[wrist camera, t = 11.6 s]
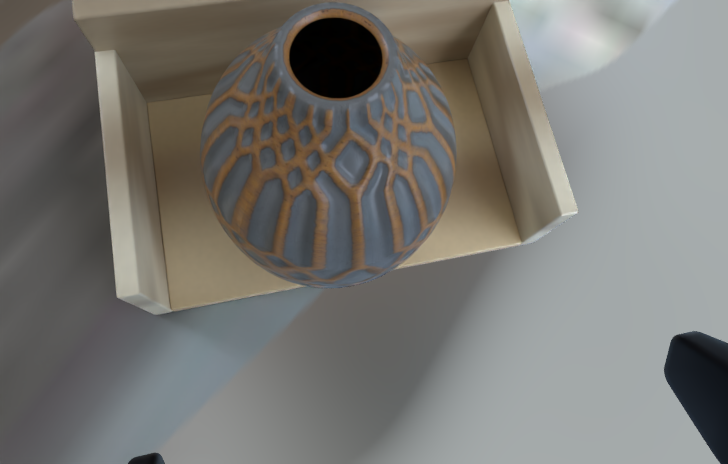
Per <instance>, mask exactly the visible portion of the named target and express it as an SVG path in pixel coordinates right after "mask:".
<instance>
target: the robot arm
mask: <svg viewBox="0 0 728 464" xmlns="http://www.w3.org/2000/svg"><path fill="white" fill-rule="evenodd" d="M664 373H665V377H666V380H667V382H668V384H669V385H670V387H671V389H672V390H673V392H674V393H675V395H676V396H677V398H678V399H679V401H680V402H681V404H682V406H683V407H684V409H685V410H686V412H687V414H688V415H689V417H690V418H691V420H692V421H693V423H694V425H695V426H696V428H697V429H698V431H699V432H700V434H701V435H702V437H703V438H704V440H705V441H706V443H707V445H708V446H709V448H710V449H711V451H712V452H713V454H714V455H715V457H716V458H717V459H718V461H719V462H720V463H721V464H728V343H726V342H723V341H721V340H718V339H716V338H713V337H711V336H709V335H706V334H703V333H701V332H697V331H693V332H688V333H684V334H679V335H676V336H674V337H673V339H672V340H671V343H670V347H669V351H668V355H667V359H666V363H665V367H664ZM128 464H165V463H164V460H163V458H162V456H161V455H160V454H159V453H151V454H147V455H142V456H138V457H135V458H133V459H132V460H130V461H129V463H128Z"/></svg>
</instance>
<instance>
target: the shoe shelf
mask: <svg viewBox="0 0 728 464" xmlns="http://www.w3.org/2000/svg"><path fill="white" fill-rule="evenodd" d="M327 2H339V3H346V4H351V5H355V6H357V7H360V8H362V9H364V10H366V11H368V12H370V13H372V14H373V15H375V16H376V17H377V18H378V19H380V20H381V21H382V22H383V23H384V24H385V26H386V27H387V28H388V29H389V31H390V32H391V34H392V35H393V36H394V37H396V38H397V39H399V40H400V41H402V42H403V43H405V44H406V45H407V46H408V47H410V48H411V49H412V50H413V51H414V52H415V53H416V54H417V55H418V56H419V57H420V58H421V59H422V60H423V61H424V63H425V64H426V65H427V66H428V67H429V69H430V70H431V71H432V73H433V74H434V76H435V77H436V79H437V81H438V82H439V84H440V86H441V88H442V90H443V92H444V94H445V97H446V99H447V102H448V104H449V107H450V111H451V114H452V118H453V123H454V128H455V135H456V150H457V156H456V171H455V178H454V183H453V187H452V191H451V194H450V198H449V201H448V204H447V206H446V208H445V211H444V213H443V215H442V217H441V219H440V220H439V222H438V224H437V225H436V227H435V229H434V230H433V232H432V233H431V234H430V236H429V237H428V238H427V240H426V241H425V242H424V243H423V244H422V245H421V246H420V248H419V249H418V250H417V251H416V252H415V253H414V254H413V255H412V256H411V257H409V258H408V259H407V260H406V261H404V262H403V263H402V264H400V265H399V266H398V267H396V268H395V269H400V268H405V267H410V266H416V265H421V264H426V263H431V262H437V261H442V260H447V259H452V258H457V257H463V256H468V255H473V254H478V253H484V252H489V251H494V250H500V249H505V248H510V247H515V246H518V245H525V244H530V243H534V242H535V241H537V240H538V239H540V238H541V237H543V236H544V235H546V234H547V233H549V232H550V231H552V230H553V229H555V228H556V227H557V226H559V225H560V224H562V223H564V222H565V221H567V220H568V219H570V218H571V217H573V216H574V215H576V214H577V213H578V208H577V205H576V202H575V199H574V196H573V193H572V190H571V187H570V184H569V181H568V178H567V175H566V172H565V169H564V166H563V163H562V160H561V157H560V153H559V150H558V148H557V144H556V141H555V138H554V135H553V132H552V129H551V126H550V123H549V120H548V117H547V114H546V111H545V108H544V105H543V102H542V99H541V96H540V93H539V90H538V86H537V83H536V80H535V77H534V74H533V71H532V68H531V65H530V62H529V59H528V56H527V53H526V50H525V47H524V44H523V41H522V38H521V35H520V32H519V29H518V26H517V23H516V20H515V17H514V14H513V10H512V7H511V4H510V1H509V0H72V10H73V19H74V20H75V22H76V23H77V25H78V27H79V28H80V30H81V31H82V33H83V34H84V36H85V37H86V39H87V40H88V42H89V43H90V45H91V46H92V48H93V49H94V51H95V61H96V73H97V84H98V95H99V106H100V117H101V128H102V139H103V150H104V161H105V172H106V183H107V194H108V206H109V217H110V228H111V239H112V250H113V261H114V272H115V283H116V294H117V298H119V299H121V300H123V301H125V302H128V303H130V304H132V305H134V306H136V307H139V308H141V309H143V310H145V311H148V312H150V313H152V314H154V315H159V314H164V313H169V312H172V311H180V310H185V309H190V308H196V307H201V306H206V305H211V304H217V303H222V302H227V301H232V300H238V299H243V298H248V297H253V296H259V295H264V294H269V293H274V292H279V291H285V290H290V289H295V288H300V287H306V286H303V285H299V284H295V283H292V282H289V281H286V280H283V279H281V278H279V277H277V276H274V275H273V274H271V273H269V272H267V271H266V270H264V269H263V268H261V267H260V266H258V265H257V264H255V263H254V262H253V261H252V260H250V259H249V258H248V257H247V256H246V255H245V254H244V253H243V252H241V251H240V249H239V248H238V247H237V246H236V245H235V244H234V243H233V242H232V240H231V239H230V238H229V236H228V235H227V234H226V232H225V231H224V229H223V228H222V226H221V225H220V223H219V221H218V220H217V218H216V216H215V214H214V212H213V209H212V207H211V205H210V203H209V200H208V197H207V194H206V191H205V187H204V183H203V178H202V171H201V162H200V144H201V133H202V127H203V122H204V117H205V113H206V110H207V107H208V104H209V101H210V99H211V96H212V93H213V91H214V89H215V87H216V85H217V83H218V82H219V80H220V78H221V77H222V75H223V73H224V72H225V70H226V69H227V68H228V66H229V65H230V64H231V63H232V61H233V60H234V59H235V58H236V57H237V56H238V55H239V54H240V53H241V52H242V51H243V50H244V49H245V48H247V47H248V46H249V45H250V44H251V43H253V42H254V41H255V40H257V39H258V38H260V37H261V36H263V35H265V34H266V33H268V32H270V31H272V30H274V29H276V28H279V27H281V26H283V24H284V23H285V22H286V21H287V20H288V19H289V18H290V17H292V16H293V15H294V14H295V13H297V12H299V11H300V10H302V9H304V8H307V7H309V6H312V5H315V4H320V3H327ZM393 270H394V269H393Z"/></svg>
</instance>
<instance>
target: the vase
mask: <svg viewBox="0 0 728 464" xmlns="http://www.w3.org/2000/svg"><path fill="white" fill-rule="evenodd" d="M456 156H457V150H456V135H455V128H454V123H453V118H452V114H451V111H450V107H449V104H448V102H447V99H446V97H445V94H444V92H443V90H442V88H441V86H440V84H439V82H438V81H437V79H436V77H435V76H434V74H433V73H432V71H431V70H430V69H429V67H428V66H427V65H426V64H425V63H424V61H423V60H422V59H421V58H420V57H419V56H418V55H417V54H416V53H415V52H414V51H413V50H412V49H411V48H410V47H408V46H407V45H406V44H405V43H403V42H402V41H400V40H399V39H397V38H396V37H394V36H393V35H392V34H391V32H390V31H389V29H388V28H387V27H386V26H385V24H384V23H383V22H382V21H381V20H380V19H378V18H377V17H376V16H375V15H373V14H372V13H370V12H368V11H366V10H364V9H362V8H360V7H357V6H355V5H351V4H346V3H339V2H327V3H320V4H315V5H312V6H309V7H307V8H304V9H302V10H300V11H299V12H297V13H295V14H294V15H293V16H292V17H290V18H289V19H288V20H287V21H286V22H285V23H284V24H283V26H281V27H279V28H276V29H274V30H272V31H270V32H268V33H266V34H265V35H263V36H261V37H260V38H258V39H257V40H255V41H254V42H253V43H251V44H250V45H249V46H248V47H247V48H245V49H244V50H243V51H242V52H241V53H240V54H239V55H238V56H237V57H236V58H235V59H234V60H233V61H232V63H231V64H230V65H229V66H228V68H227V69H226V70H225V72H224V73H223V75H222V77H221V78H220V80H219V82H218V83H217V85H216V87H215V89H214V91H213V93H212V96H211V99H210V101H209V104H208V107H207V110H206V113H205V117H204V122H203V127H202V133H201V144H200V162H201V171H202V178H203V183H204V187H205V191H206V194H207V197H208V200H209V203H210V205H211V207H212V209H213V212H214V214H215V216H216V218H217V220H218V221H219V223H220V225H221V226H222V228H223V229H224V231H225V232H226V234H227V235H228V236H229V238H230V239H231V240H232V242H233V243H234V244H235V245H236V246H237V247H238V248H239V249H240V251H241V252H243V253H244V254H245V255H246V256H247V257H248V258H249V259H250V260H252V261H253V262H254V263H255V264H257V265H258V266H260V267H261V268H263V269H264V270H266V271H267V272H269V273H271V274H273V275H274V276H277V277H279V278H281V279H283V280H286V281H289V282H292V283H295V284H299V285H303V286H309V287H316V288H342V287H349V286H354V285H359V284H362V283H366V282H369V281H371V280H374V279H376V278H378V277H380V276H383V275H385V274H386V273H388V272H390V271H391V270H393V269H395V268H396V267H398V266H399V265H400V264H402V263H403V262H404V261H406V260H407V259H408V258H409V257H411V256H412V255H413V254H414V253H415V252H416V251H417V250H418V249H419V248H420V246H421V245H422V244H423V243H424V242H425V241H426V240H427V238H428V237H429V236H430V234H431V233H432V232H433V230H434V229H435V227H436V225H437V224H438V222H439V220H440V219H441V217H442V215H443V213H444V211H445V208H446V206H447V204H448V201H449V198H450V194H451V191H452V187H453V183H454V178H455V171H456Z"/></svg>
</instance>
